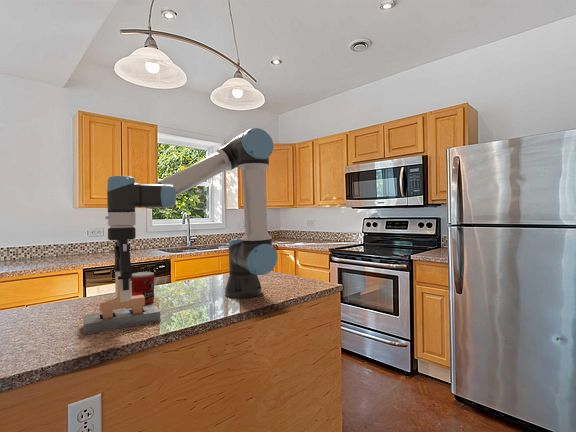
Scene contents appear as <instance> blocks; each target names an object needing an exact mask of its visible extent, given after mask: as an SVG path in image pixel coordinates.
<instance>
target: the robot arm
mask: <svg viewBox="0 0 576 432" xmlns="http://www.w3.org/2000/svg"><path fill="white" fill-rule="evenodd" d="M273 151H274V142H273V138H272V137H271V135H270V134H269V133H268V132H267V131H266V130H265V129H263V128H259V127H253V128H250V129H247V130H245V131H244V132H243V133H241V134H239V135H237V136H236V137H234V138H233V139H231V140H230V141H229V142H227V143H226V144H225V145H224V146H223V145H222V146H221V147H220V148H218V149H216V152H215V153H213V154H211V155H209V156H207V157H206V158H203V159H202V160H199V161H198V162H197V161H196V163H193V164H192V165H189V166H187V167H186V168H183V169H182V170H179V171H177V172H175V173H173V174H171V175H170V176H168V177H165V178H163V179H161V180H159V181H158V182H156V183H137V182H136V178H135V177H134V176H129V175H111V176H109V177H108V178H107V184H106V185H107V186H106V187H107V188H106V195H107V197H106V198H107V200H106V202H107V203H106V204H107V215H106V216H105V220H107V226H108V229H107V239H108V241H114V248H113V250H114V270H115V271H114V273H115V275H114V277H115V278H114V281H115V285H114V286H115V291H116V282H120V302H124V301H131V296H132V290H131V276H132V274H133V273H132V265H131V264H132V263H131V245H130V243H128V241H129V240H130V241H132V240H135V239H136V235H137V233H136V230H137V229H136V228H135V226H136V223H137V221H136V219H137V217H136V216H137V215H136V208H146V209H151V210H152V209H157V208H159V209H160V208H163V209H167V208H173V207H175V206H176V201H177V197H178V196H179V195H181V194H184V193H185V192H187V191H189V190H191V189H192V188H195V187H197V186H199V185H200V184H202V183H204V182H206V181H208V180H209V179H211V178H213V177H216V176H217V175H219V174H221V173H223V172H224V171H228V172H230V171H232V170H235V169H237V168H238V169H240V170H241V171H242V191H243V192H242V194H243V214H244V217H243V218H244V235H243V236H242V237H241V238H233V239H230V240H229V243H228V268H229V269H228V271H229V272H228V278H227V281H226V285H225V287H224V294H225V296H226V297H229V298H235V299H245V298H246V299H247V298H253V297H258V296H260V295H261V294H262V293H263V292H262V290H263V289H262V288H263V287H262V285H261V282H260V279H259V278H260V277H258V276H265V275H267V274H269V273H271V272H272V271H273V270H274V268H275V267H276V266H277V263H278V258H279V257H278V256H279V255H278V252H277V250H276V248H275V247H274V246H273V238H272V236H271V235H270V234H269V233H268V209H267V185H266V184H267V182H266V178H267V177H266V171H267V169H268V168H269V167H270V156H271V155H272V154H273Z"/></svg>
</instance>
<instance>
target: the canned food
mask: <svg viewBox="0 0 576 432" xmlns="http://www.w3.org/2000/svg"><path fill="white" fill-rule="evenodd" d="M131 274H132V276H131V296H137V295H144V297H145V305H144V306H148V305H149V304H150V305H151V304H152V303H154V301H155V273H154V272H152V271H140V272H133V273H131Z"/></svg>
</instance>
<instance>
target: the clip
mask: <svg viewBox="0 0 576 432" xmlns="http://www.w3.org/2000/svg"><path fill="white" fill-rule="evenodd" d="M115 293H116V294H115V297H116V298H109V299H101V300H99V301H98V303H99V304H98V305H99V313H102V316H103V319H106V318H112V317H113V311H116V310H123V309H129V308H132V314H136V313H142V306H146V305H145V297H144V295H137V296H132V295H131V301H124V302H120V282H116V290H115Z"/></svg>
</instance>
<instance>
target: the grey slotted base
mask: <svg viewBox="0 0 576 432" xmlns="http://www.w3.org/2000/svg"><path fill="white" fill-rule="evenodd" d="M157 322H161V310H160V309H159V308H158V307H157V306H156V304H154V303H153V304H150V305H149V304H147V305H142V313H136V314H132V307H129V308H123V309H116V310H113V317H112V318H106V319H103V316H102V312H98V313H91V314H85V315H83V336H86V335H93V334H98V333H103V332H107V331H113V330H119V329H123V328H130V327H134V326H141V325H145V324H151V323H157Z"/></svg>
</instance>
